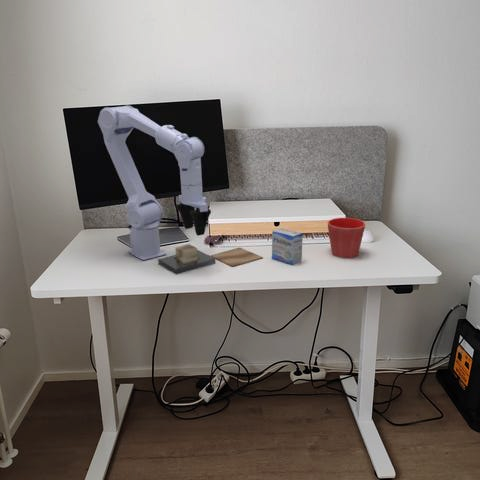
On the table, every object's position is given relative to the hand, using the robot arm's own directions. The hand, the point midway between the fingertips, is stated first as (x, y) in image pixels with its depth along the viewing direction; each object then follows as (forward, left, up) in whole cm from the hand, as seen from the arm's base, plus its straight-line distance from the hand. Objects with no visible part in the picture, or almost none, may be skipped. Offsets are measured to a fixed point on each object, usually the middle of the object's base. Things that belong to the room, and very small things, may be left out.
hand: (194, 231), depth 142 cm
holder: (-2, -2, -10) cm, 10 cm away
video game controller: (-14, +17, -10) cm, 24 cm away
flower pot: (+21, +39, -10) cm, 46 cm away
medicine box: (+14, +22, -10) cm, 28 cm away
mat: (+3, +12, -10) cm, 16 cm away
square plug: (-2, -2, -10) cm, 10 cm away
